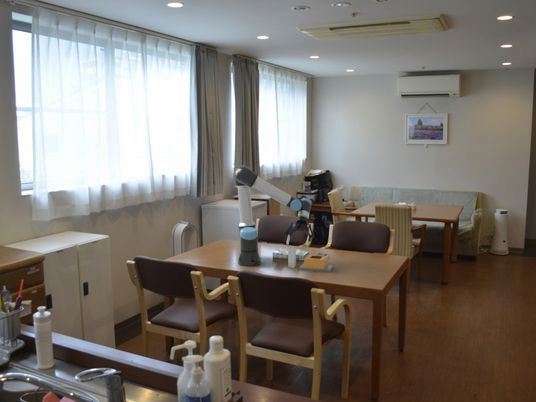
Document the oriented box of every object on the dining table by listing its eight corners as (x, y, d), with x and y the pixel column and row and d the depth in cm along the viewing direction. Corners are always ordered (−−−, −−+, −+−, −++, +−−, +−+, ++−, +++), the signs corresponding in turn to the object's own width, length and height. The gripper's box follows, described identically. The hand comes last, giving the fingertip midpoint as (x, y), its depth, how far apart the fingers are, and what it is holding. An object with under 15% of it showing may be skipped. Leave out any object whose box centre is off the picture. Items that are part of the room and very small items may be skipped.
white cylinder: (288, 267, 324) (288, 249, 323) (290, 265, 328) (289, 247, 327) (294, 267, 323) (294, 249, 321) (295, 266, 327) (295, 248, 325)
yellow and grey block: (298, 269, 318) (298, 258, 317) (303, 265, 329) (303, 253, 328) (329, 272, 311) (329, 260, 310) (333, 267, 323) (333, 256, 322)
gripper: (321, 222, 343) (316, 249, 331) (286, 220, 351) (280, 246, 339) (319, 216, 337) (314, 242, 325) (284, 214, 345) (277, 240, 333)
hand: (297, 245), depth 332 cm, fingers open, 13 cm apart
